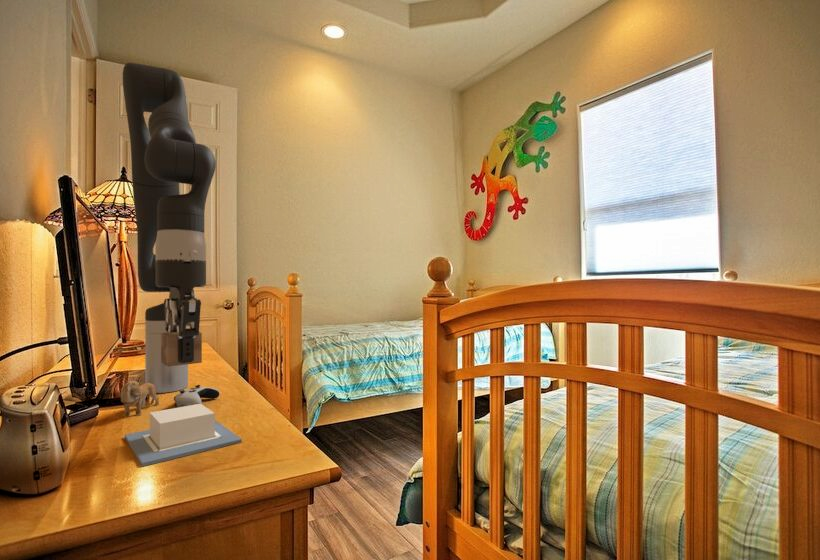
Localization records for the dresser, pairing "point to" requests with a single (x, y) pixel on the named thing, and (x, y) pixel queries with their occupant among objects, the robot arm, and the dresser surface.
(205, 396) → the game controller
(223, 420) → the dresser surface
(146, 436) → the board
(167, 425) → the base slab
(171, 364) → the walnut cube
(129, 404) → the lion figurine
